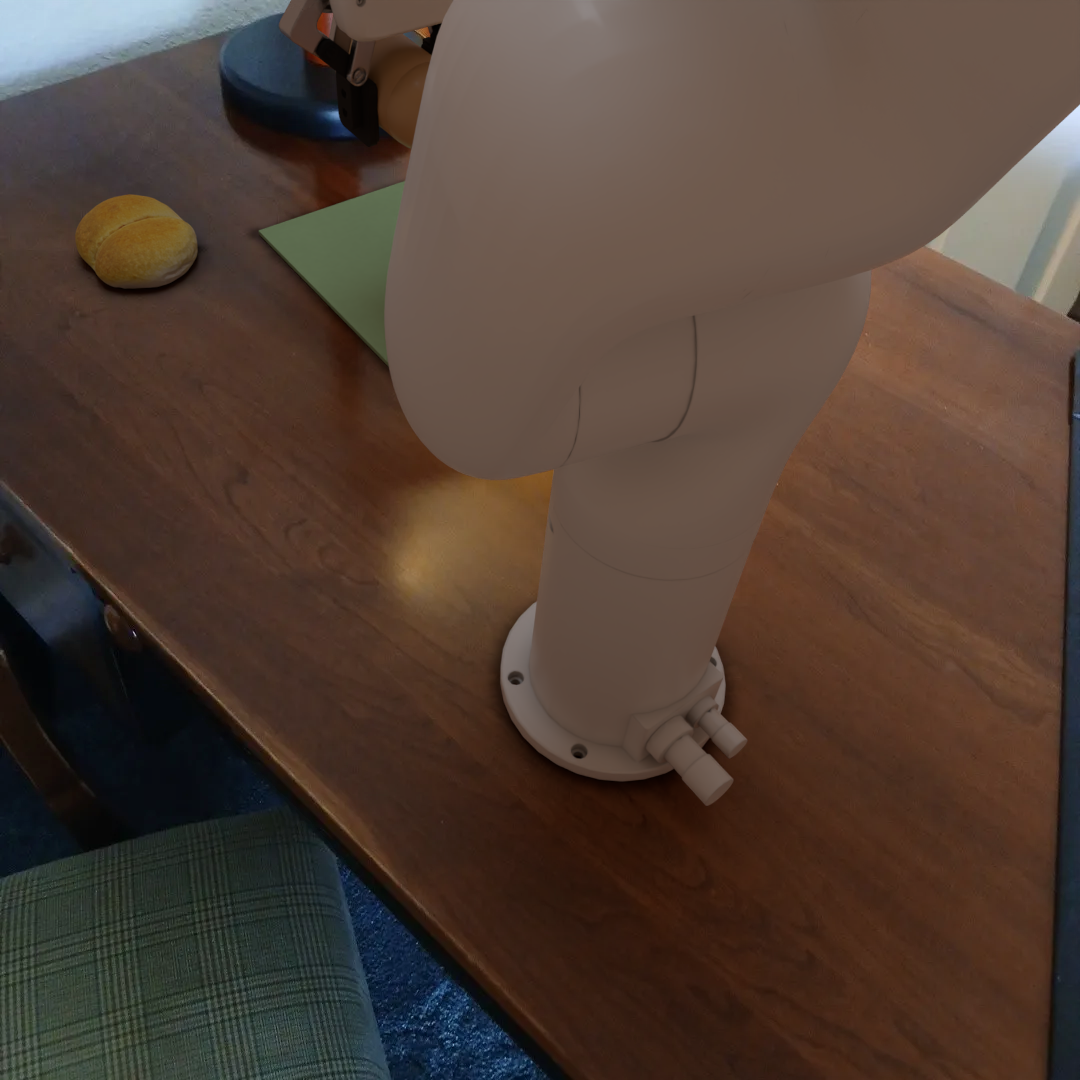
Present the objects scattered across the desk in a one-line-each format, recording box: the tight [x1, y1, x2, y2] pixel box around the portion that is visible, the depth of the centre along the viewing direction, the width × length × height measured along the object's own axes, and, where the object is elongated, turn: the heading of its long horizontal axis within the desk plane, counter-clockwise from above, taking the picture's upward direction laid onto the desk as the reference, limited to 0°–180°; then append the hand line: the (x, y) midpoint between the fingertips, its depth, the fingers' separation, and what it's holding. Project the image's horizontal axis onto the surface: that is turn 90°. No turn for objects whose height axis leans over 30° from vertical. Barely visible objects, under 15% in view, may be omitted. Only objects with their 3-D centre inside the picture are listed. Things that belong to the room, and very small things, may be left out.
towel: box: [258, 180, 405, 368], centre depth 82 cm, size 22×18×1 cm
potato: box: [334, 33, 432, 150], centre depth 64 cm, size 10×5×5 cm, turn 39°
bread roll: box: [74, 193, 199, 289], centre depth 79 cm, size 8×9×4 cm
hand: (400, 119), depth 66 cm, fingers closed on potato, 5 cm apart
